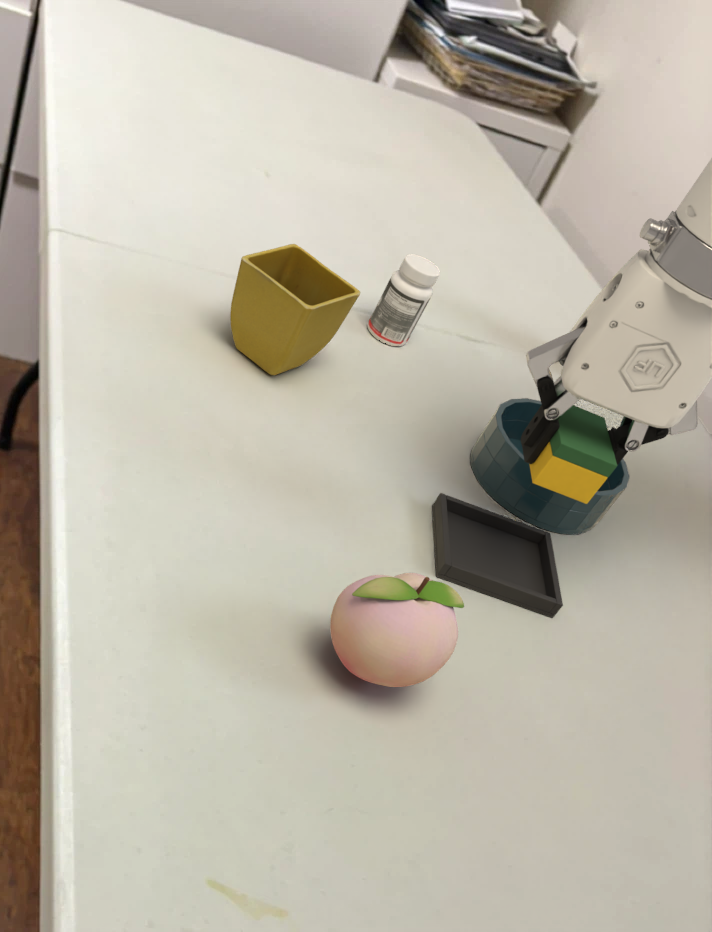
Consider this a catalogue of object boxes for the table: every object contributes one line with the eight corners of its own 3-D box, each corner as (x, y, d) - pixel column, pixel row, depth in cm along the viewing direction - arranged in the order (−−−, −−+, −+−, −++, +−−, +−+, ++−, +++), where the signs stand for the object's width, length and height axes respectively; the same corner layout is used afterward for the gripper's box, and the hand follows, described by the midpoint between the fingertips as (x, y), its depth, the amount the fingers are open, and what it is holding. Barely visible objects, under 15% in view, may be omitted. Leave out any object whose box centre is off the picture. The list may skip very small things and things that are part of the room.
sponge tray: (540, 545, 102) (550, 532, 100) (552, 618, 95) (563, 605, 94) (431, 505, 100) (440, 492, 99) (435, 576, 93) (445, 563, 92)
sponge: (576, 455, 93) (604, 417, 90) (586, 504, 88) (617, 465, 85) (523, 435, 92) (551, 395, 89) (532, 483, 87) (561, 443, 84)
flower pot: (207, 340, 106) (240, 254, 99) (261, 323, 111) (295, 241, 105) (272, 393, 104) (310, 309, 97) (324, 373, 109) (363, 292, 103)
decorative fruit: (340, 725, 78) (406, 630, 71) (291, 640, 82) (348, 542, 75) (440, 711, 82) (511, 620, 75) (388, 631, 86) (451, 537, 79)
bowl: (588, 468, 114) (617, 429, 111) (607, 552, 105) (640, 513, 101) (465, 421, 112) (491, 380, 109) (474, 503, 103) (502, 461, 99)
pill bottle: (382, 318, 121) (418, 248, 115) (413, 343, 120) (451, 273, 114) (358, 325, 118) (393, 254, 112) (389, 351, 117) (427, 280, 111)
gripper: (606, 239, 73) (466, 456, 86) (823, 331, 75) (656, 528, 88) (591, 194, 78) (461, 405, 91) (795, 282, 80) (640, 475, 93)
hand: (558, 464), depth 89 cm, fingers closed on sponge, 5 cm apart
